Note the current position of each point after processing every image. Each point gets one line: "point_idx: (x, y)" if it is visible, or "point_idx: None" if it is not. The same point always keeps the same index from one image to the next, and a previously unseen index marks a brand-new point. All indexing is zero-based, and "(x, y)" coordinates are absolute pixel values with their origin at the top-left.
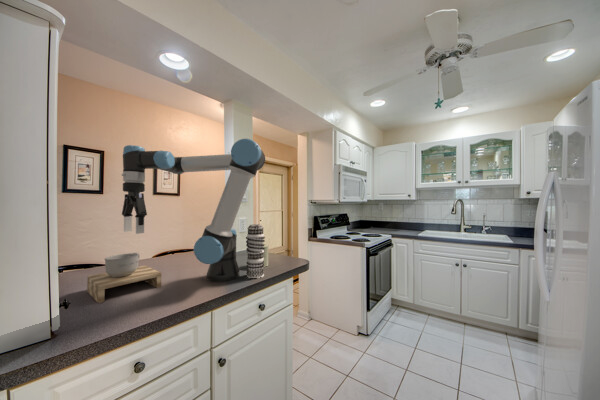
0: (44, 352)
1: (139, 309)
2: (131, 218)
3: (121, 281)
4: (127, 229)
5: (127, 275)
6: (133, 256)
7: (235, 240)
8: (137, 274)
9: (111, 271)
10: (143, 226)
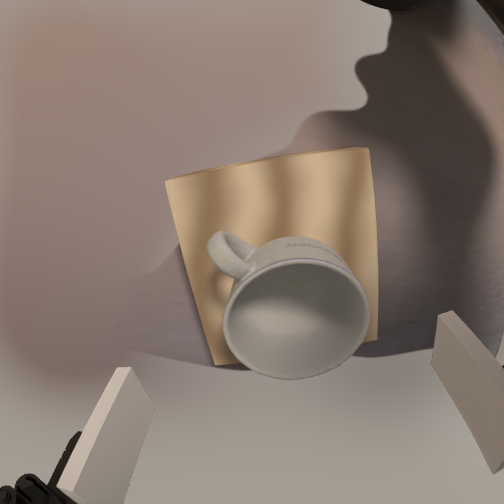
0: None
1: (471, 238)
2: (84, 474)
3: (377, 287)
4: (140, 405)
5: None
6: (362, 287)
7: None
8: (326, 233)
9: (330, 329)
10: (483, 352)
